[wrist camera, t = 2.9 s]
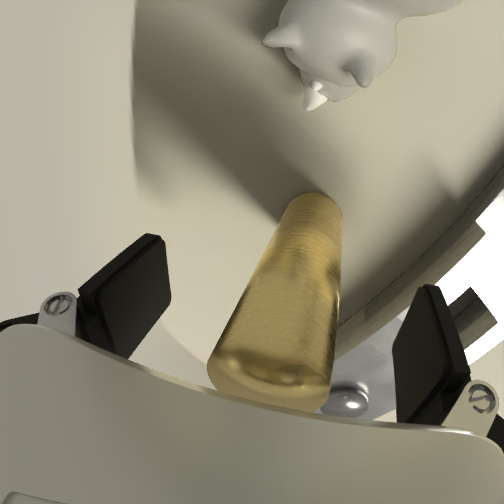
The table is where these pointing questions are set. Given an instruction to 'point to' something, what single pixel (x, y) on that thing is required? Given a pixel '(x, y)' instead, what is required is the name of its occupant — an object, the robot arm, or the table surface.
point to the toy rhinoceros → (343, 41)
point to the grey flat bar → (400, 298)
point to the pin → (287, 313)
